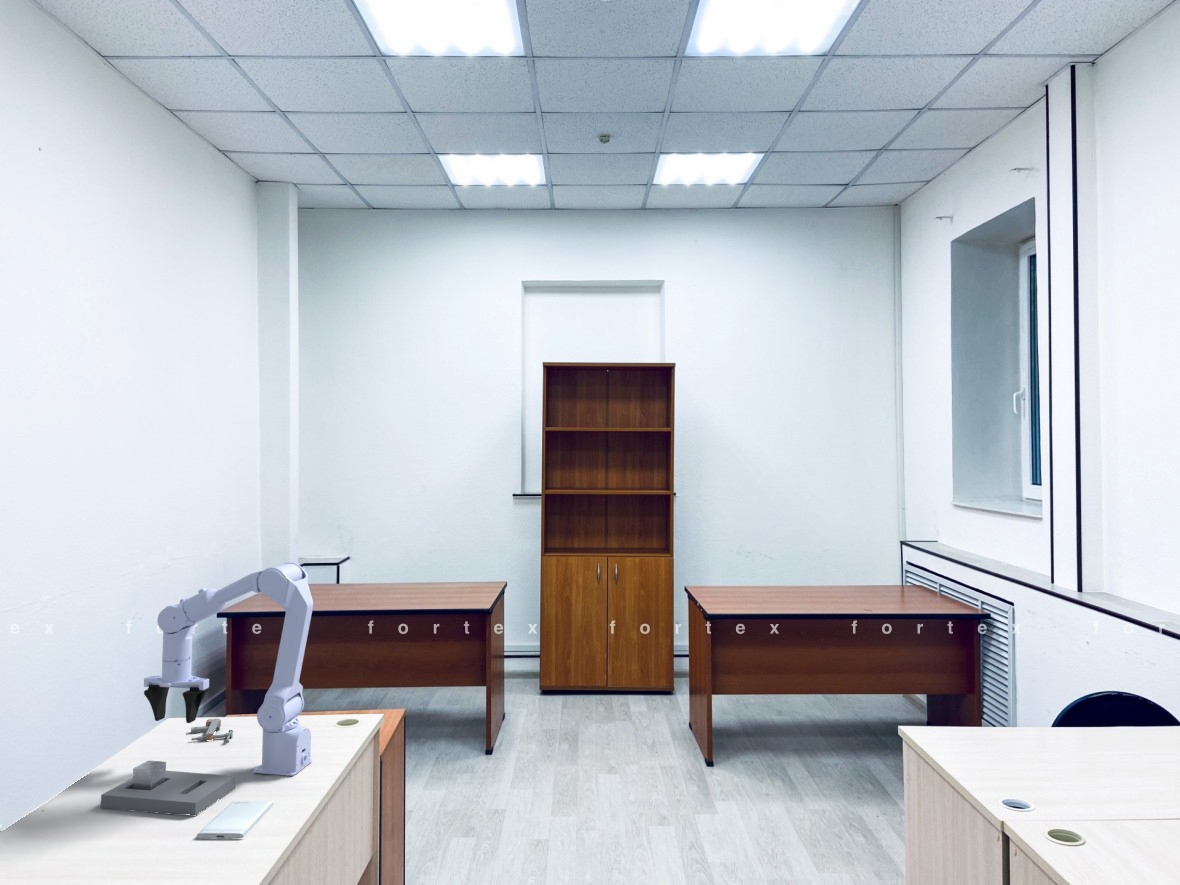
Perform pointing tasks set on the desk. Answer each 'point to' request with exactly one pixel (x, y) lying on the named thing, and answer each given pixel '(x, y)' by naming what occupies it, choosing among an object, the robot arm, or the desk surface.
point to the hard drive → (236, 819)
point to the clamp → (211, 731)
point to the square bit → (149, 775)
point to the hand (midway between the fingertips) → (175, 720)
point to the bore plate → (171, 794)
